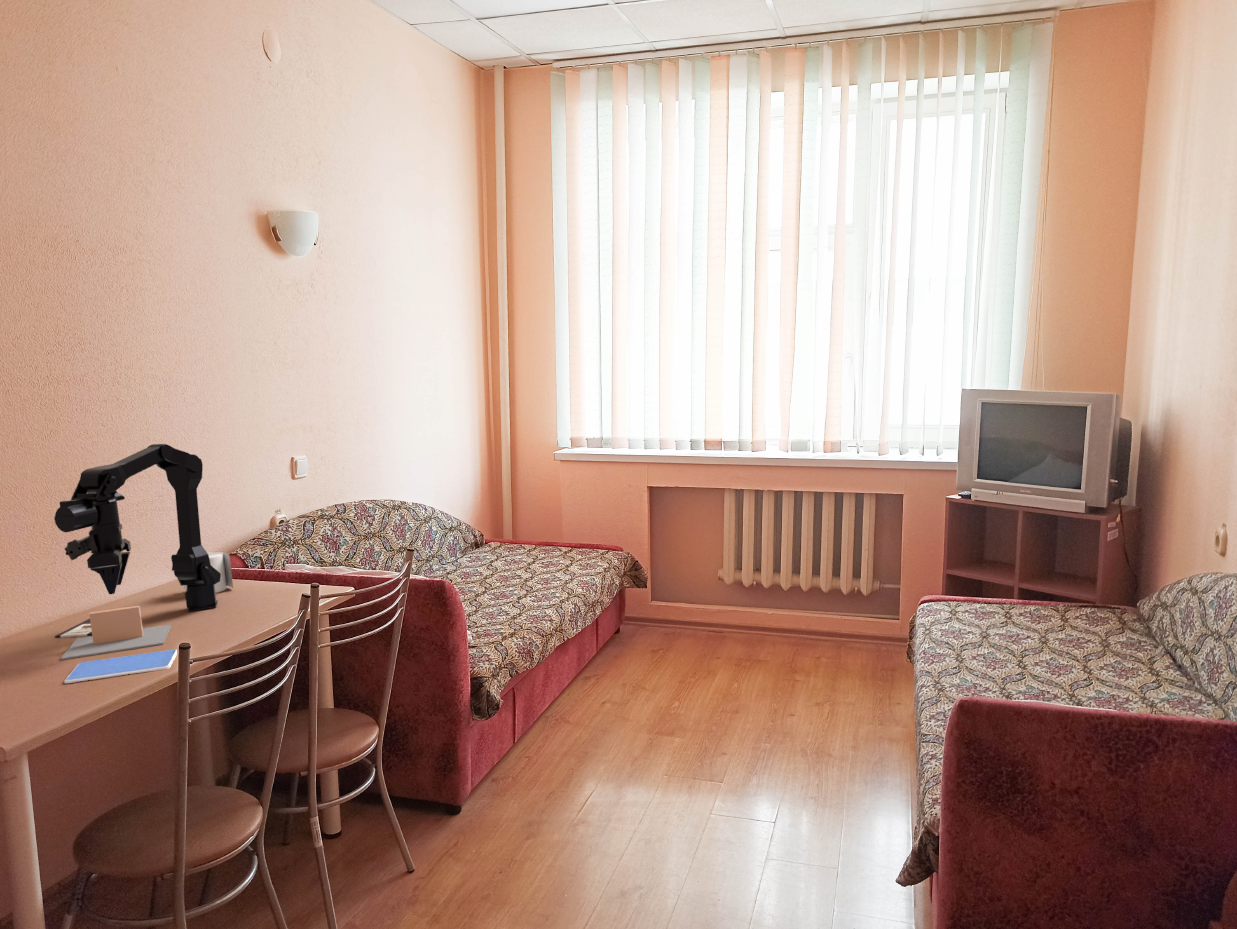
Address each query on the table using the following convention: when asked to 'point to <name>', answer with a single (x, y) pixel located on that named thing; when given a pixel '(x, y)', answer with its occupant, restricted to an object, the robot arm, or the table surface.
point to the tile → (116, 624)
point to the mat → (117, 643)
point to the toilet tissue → (220, 570)
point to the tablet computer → (122, 666)
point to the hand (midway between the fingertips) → (115, 589)
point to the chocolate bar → (77, 630)
